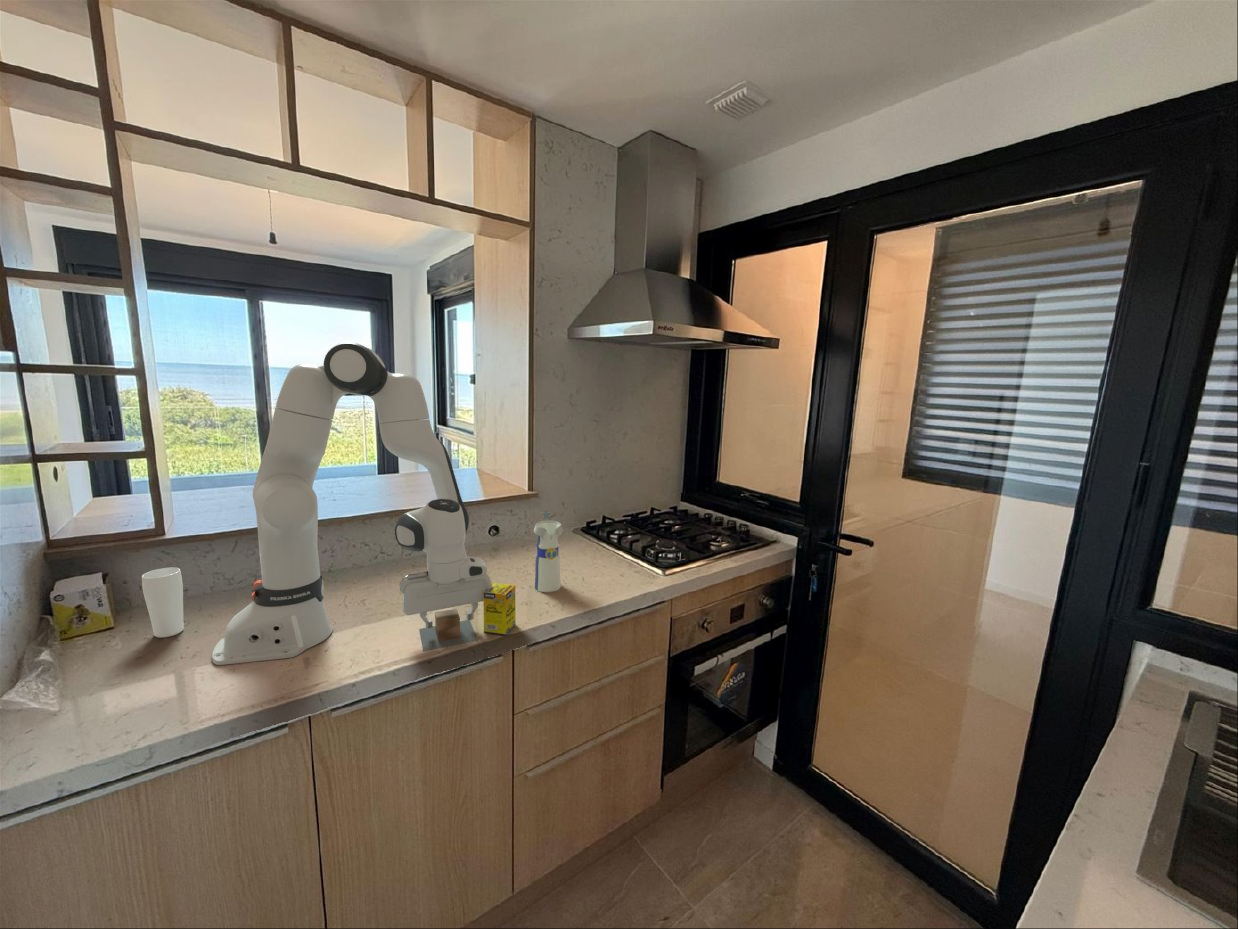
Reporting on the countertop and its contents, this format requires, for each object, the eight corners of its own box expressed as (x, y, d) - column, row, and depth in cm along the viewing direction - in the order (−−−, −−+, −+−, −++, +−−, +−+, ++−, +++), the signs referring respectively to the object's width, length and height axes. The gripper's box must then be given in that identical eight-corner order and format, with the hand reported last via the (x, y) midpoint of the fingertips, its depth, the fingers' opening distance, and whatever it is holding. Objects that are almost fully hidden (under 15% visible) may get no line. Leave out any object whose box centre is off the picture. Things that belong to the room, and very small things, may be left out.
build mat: (423, 653, 111) (423, 651, 111) (419, 630, 121) (419, 628, 121) (477, 641, 117) (477, 640, 117) (469, 621, 126) (469, 619, 126)
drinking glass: (157, 628, 119) (148, 569, 116) (193, 624, 121) (185, 565, 119) (144, 642, 112) (134, 580, 110) (181, 637, 115) (173, 576, 113)
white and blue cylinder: (566, 589, 147) (567, 507, 142) (538, 594, 143) (538, 510, 139) (557, 579, 154) (558, 501, 150) (530, 583, 150) (530, 503, 146)
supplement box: (506, 637, 119) (505, 594, 117) (483, 634, 120) (482, 591, 118) (516, 625, 125) (516, 584, 123) (494, 623, 126) (493, 582, 124)
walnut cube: (438, 641, 115) (437, 621, 115) (435, 631, 120) (434, 612, 119) (460, 637, 118) (459, 617, 117) (457, 627, 122) (456, 608, 121)
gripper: (400, 581, 109) (404, 639, 112) (493, 566, 118) (495, 620, 121) (398, 571, 115) (401, 626, 117) (487, 557, 124) (489, 609, 126)
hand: (449, 623), depth 119 cm, fingers open, 8 cm apart
